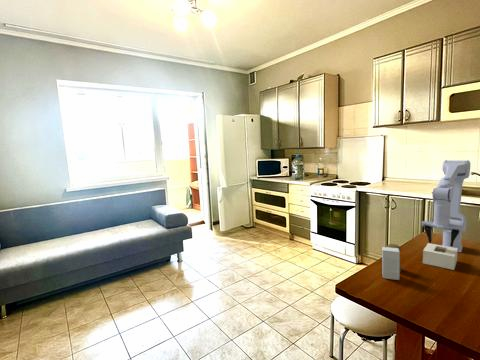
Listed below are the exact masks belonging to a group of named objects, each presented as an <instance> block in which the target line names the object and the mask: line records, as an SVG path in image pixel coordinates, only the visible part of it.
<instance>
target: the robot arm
mask: <svg viewBox="0 0 480 360" xmlns="http://www.w3.org/2000/svg"><path fill="white" fill-rule="evenodd" d="M442 171H443V173H444V176H443V177H441V179H440V180H439V182H438V184H437V187H435V188H433V190H432V203H433V221H426V220H423V221H421V225H420V226H421V227H423V230H424V232H425V235H426V236H427V239H428V243H430V244H432V241H433V240H432V239H433V237H432V232H433V228H436V229H441V231H442V244H441V245H442V246H447V247H453V248H458V251H457V253H462V250H463V248H464V246H463V245H462V237H463V235H462V233H465V232H466V230H467V217H466V216H465V215H464V214H463V213H461V202H462V194H463V193H462V192H463V184H464V181H465V179H466V180H467V179H468V178H469V177H470V174H471V161H470V160H469V159H467V160H447V159H446V160H444V161H443V162H442Z"/></svg>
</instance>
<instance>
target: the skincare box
mask: <svg viewBox="0 0 480 360" xmlns="http://www.w3.org/2000/svg"><path fill="white" fill-rule="evenodd" d="M381 251H382V252H381V253H382V255H381V257H382V259H381V261H382V263H381V265H382V266H381V268H382V269H381V270H382V271H381V273H382V279H387V280H395V281H396V280H397V281H400V275H401V274H400V272H401V271H400V265H401V259H400V258H401V256H400V255H401V254H400V253H401V251H400V252H399V249H398V248H390V247H387V246H382V247H381Z"/></svg>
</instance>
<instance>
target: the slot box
mask: <svg viewBox="0 0 480 360" xmlns="http://www.w3.org/2000/svg"><path fill="white" fill-rule="evenodd" d="M422 250H423V251H422V264H425V265H429V266H434V267H438V268H442V269H447V270H452V271H455V268H456V265H457V263H458V252H457V251H458V248H453V247H447V246H442V244H436V243H429V242H427V244H426V246H425V247H424V248H423V249H422ZM437 251H443V252H444V253H442V252H437Z"/></svg>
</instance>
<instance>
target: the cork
mask: <svg viewBox="0 0 480 360" xmlns="http://www.w3.org/2000/svg"><path fill="white" fill-rule="evenodd" d="M386 247H390V248H398V249H399V252H400V253H401V247H400V246H399V245H398V244H395V243H389V244H387V245H386ZM401 265H402V264H400V272H401V271H402V266H401Z"/></svg>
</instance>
